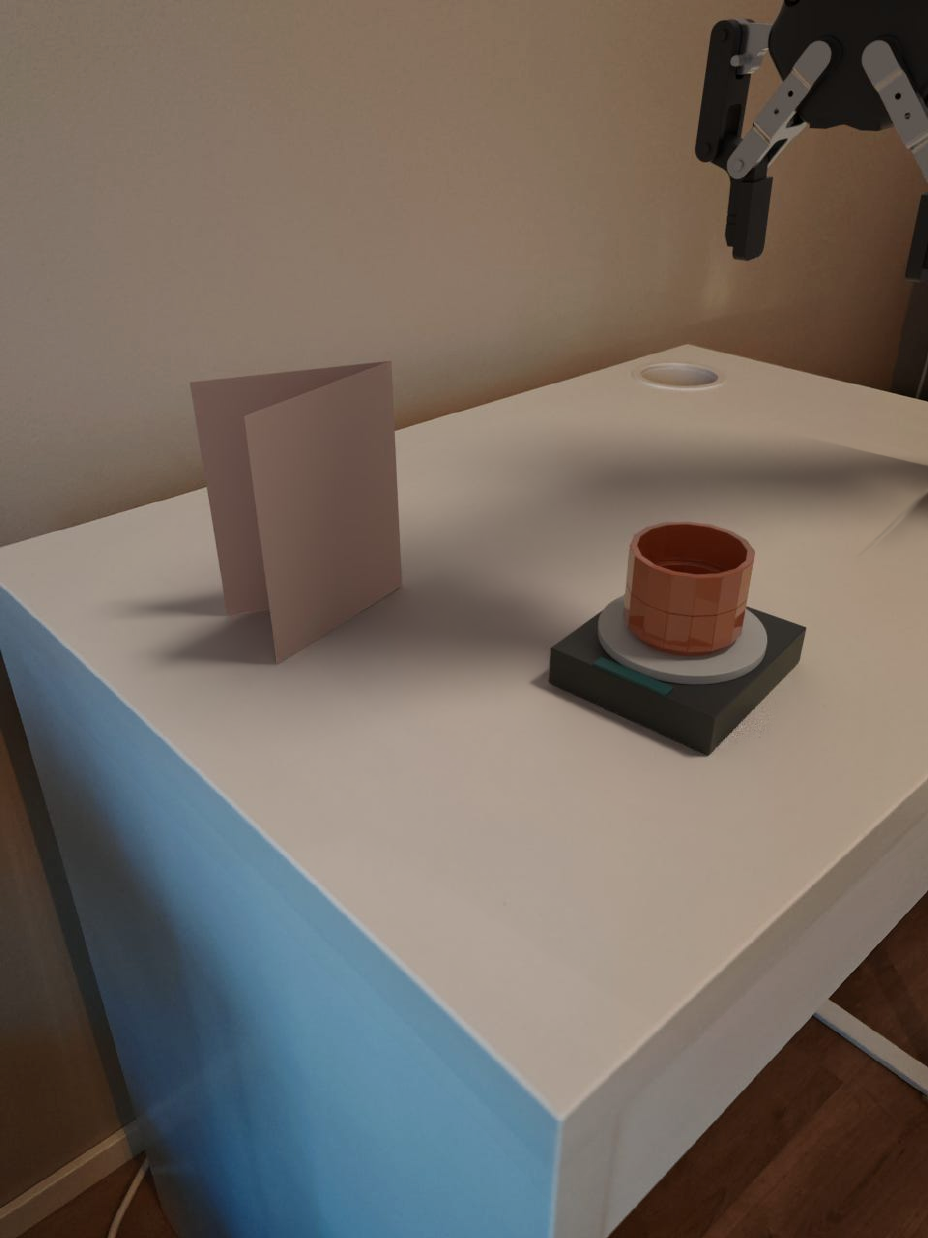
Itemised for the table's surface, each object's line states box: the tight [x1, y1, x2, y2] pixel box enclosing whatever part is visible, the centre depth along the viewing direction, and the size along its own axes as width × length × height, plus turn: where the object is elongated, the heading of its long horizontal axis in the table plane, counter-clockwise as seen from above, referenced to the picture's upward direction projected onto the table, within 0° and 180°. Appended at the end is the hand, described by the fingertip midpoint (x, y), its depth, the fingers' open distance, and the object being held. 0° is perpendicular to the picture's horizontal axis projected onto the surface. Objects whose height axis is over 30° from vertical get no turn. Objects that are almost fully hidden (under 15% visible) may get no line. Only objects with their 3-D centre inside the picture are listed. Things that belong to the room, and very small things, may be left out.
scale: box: [548, 593, 807, 756], centre depth 54 cm, size 11×10×3 cm
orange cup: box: [623, 520, 756, 656], centre depth 52 cm, size 6×6×5 cm
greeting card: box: [189, 360, 403, 665], centre depth 56 cm, size 11×7×15 cm, turn 109°
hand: (828, 267), depth 47 cm, fingers open, 8 cm apart
